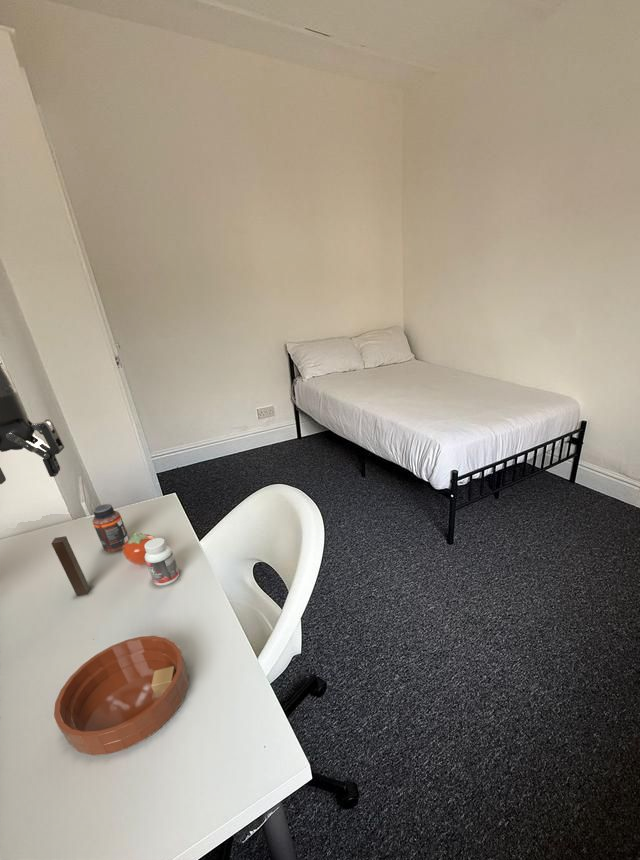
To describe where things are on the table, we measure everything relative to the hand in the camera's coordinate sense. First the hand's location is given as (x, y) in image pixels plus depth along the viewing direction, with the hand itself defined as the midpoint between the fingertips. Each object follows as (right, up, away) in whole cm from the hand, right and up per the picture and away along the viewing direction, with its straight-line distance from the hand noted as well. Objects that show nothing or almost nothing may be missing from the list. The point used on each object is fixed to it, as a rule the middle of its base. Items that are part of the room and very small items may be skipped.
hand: (28, 478), depth 77 cm
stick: (+1, -25, +13) cm, 28 cm away
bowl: (+26, -36, -10) cm, 45 cm away
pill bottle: (+17, -23, +16) cm, 33 cm away
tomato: (+9, -20, +22) cm, 31 cm away
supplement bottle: (-1, -17, +28) cm, 33 cm away
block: (+31, -34, -9) cm, 47 cm away
